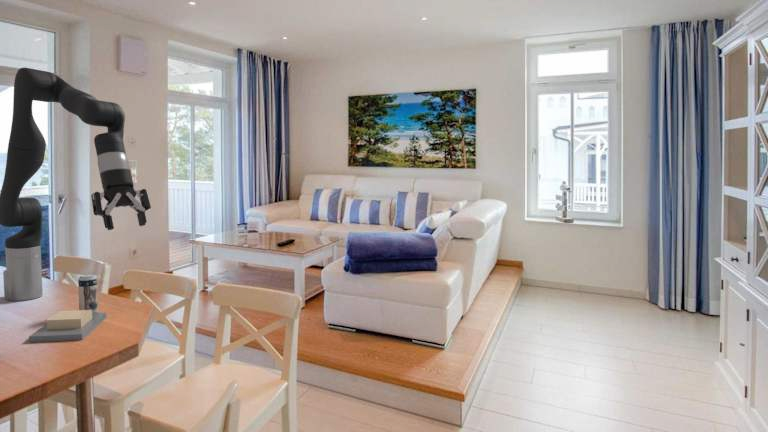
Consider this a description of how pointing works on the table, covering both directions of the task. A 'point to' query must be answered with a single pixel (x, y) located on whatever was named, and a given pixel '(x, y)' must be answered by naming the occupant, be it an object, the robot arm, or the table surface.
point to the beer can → (88, 292)
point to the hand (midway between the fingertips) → (127, 227)
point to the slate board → (67, 332)
